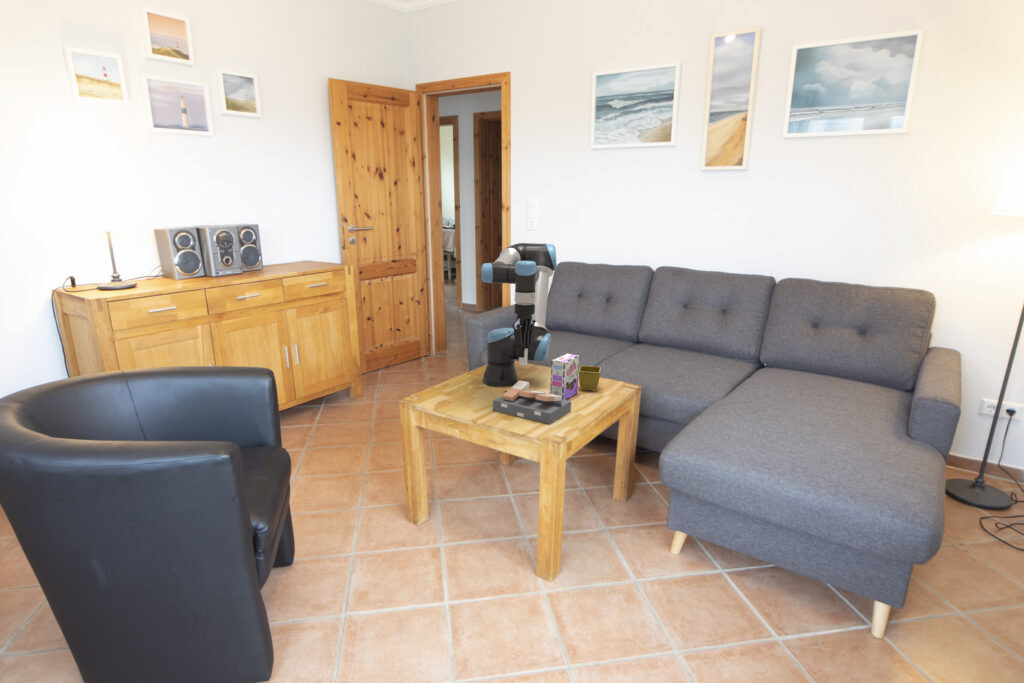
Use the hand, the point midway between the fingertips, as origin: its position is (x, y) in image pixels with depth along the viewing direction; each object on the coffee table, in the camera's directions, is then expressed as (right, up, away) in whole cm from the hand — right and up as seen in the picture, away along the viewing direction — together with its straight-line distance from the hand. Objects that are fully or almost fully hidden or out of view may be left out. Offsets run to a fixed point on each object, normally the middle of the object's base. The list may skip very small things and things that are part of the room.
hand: (523, 365), depth 211 cm
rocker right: (+9, -11, -9) cm, 17 cm away
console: (+3, -17, -4) cm, 17 cm away
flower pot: (+28, -11, +24) cm, 39 cm away
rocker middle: (+3, -10, -5) cm, 12 cm away
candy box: (+17, -14, +14) cm, 25 cm away
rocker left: (-3, -9, -1) cm, 10 cm away
